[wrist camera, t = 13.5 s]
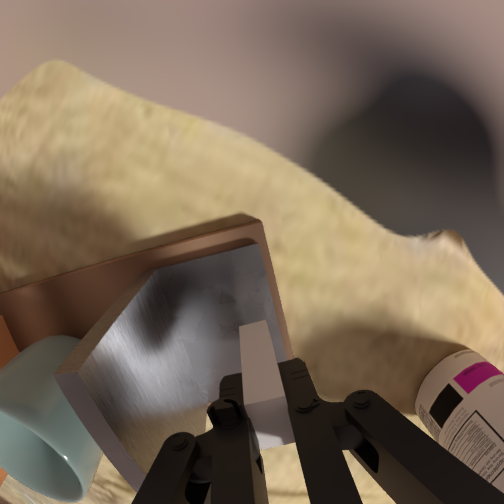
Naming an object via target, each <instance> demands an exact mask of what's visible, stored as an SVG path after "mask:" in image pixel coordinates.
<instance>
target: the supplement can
mask: <svg viewBox="0 0 504 504" xmlns="http://www.w3.org/2000/svg"><path fill="white" fill-rule="evenodd" d="M415 411H416V414H417V415H418V417H419V418H420V420H421V421H422V422H423V424H424V425H425V426H426V428H427V429H428V430H429V432H430V433H431V435H432V436H433V437H434V439H435V440H436V442H437V443H439V444H440V445H441V446H442V447H444V448H445V449H446V450H447V451H449V452H450V453H451V454H453V455H454V456H455V457H456V458H458V459H459V460H460V461H462V462H463V463H464V464H465V465H467V466H468V467H469V468H471V469H472V470H473V471H475V472H476V473H477V474H479V475H480V476H481V477H483V478H484V479H485V480H487V481H488V482H489V483H491V484H492V485H493V486H495V487H496V488H497V489H499V490H500V491H501V492H503V493H504V374H503V373H502V372H501V371H499V370H498V369H497V368H496V367H495V366H493V365H492V364H491V363H490V362H488V361H487V360H486V359H485V358H483V357H482V356H481V355H480V354H478V353H477V352H475V351H473V350H471V349H469V350H461V351H459V352H456V353H453V354H451V355H449V356H447V357H445V358H444V359H443V360H441V361H440V362H439V363H438V364H437V365H435V366H434V367H433V369H432V370H431V371H430V372H429V373H428V374H427V376H426V377H425V379H424V381H423V382H422V384H421V386H420V388H419V391H418V395H417V398H416V401H415Z"/></svg>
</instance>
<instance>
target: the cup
mask: <svg viewBox="0 0 504 504" xmlns="http://www.w3.org/2000/svg"><path fill="white" fill-rule="evenodd" d="M81 340H82V339H79V338H77V337H73V336H69V335H53V336H48V337H44V338H42V339H40V340H38V341H36V342H34V343H32V344H31V345H29V346H27V347H26V348H24V349H23V350H22V351H20V352H19V353H18V354H17V355H15V356H14V357H13V358H12V359H11V360H9V361H8V362H7V363H6V364H5V365H4V366H3V367H2V368H1V369H0V467H1V468H2V469H3V470H4V471H6V472H7V473H8V474H9V475H10V476H12V477H13V478H15V479H16V480H17V481H19V482H20V483H22V484H24V485H25V486H27V487H28V488H30V489H32V490H34V491H36V492H38V493H40V494H42V495H45V496H47V497H50V498H53V499H56V500H59V501H64V502H77V501H80V500H82V499H83V498H84V497H85V496H86V495H87V493H88V491H89V489H90V487H91V484H92V482H93V479H94V477H95V474H96V472H97V469H98V466H99V464H100V461H101V459H102V456H103V451H102V450H101V449H100V447H99V446H98V445H97V443H96V442H95V441H94V439H93V438H92V437H91V435H90V434H89V432H88V431H87V429H86V428H85V426H84V425H83V424H82V422H81V421H80V419H79V418H78V416H77V414H76V413H75V411H74V410H73V408H72V407H71V405H70V403H69V402H68V400H67V399H66V397H65V395H64V394H63V392H62V390H61V388H60V387H59V385H58V383H57V382H56V380H55V378H54V376H53V374H54V372H55V371H56V370H57V369H58V367H59V366H60V365H61V364H62V362H63V361H64V360H65V359H66V358H67V356H68V355H69V354H70V353H71V352H72V350H73V349H74V348H75V347H76V346H77V345H78V343H79V342H80V341H81Z"/></svg>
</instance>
